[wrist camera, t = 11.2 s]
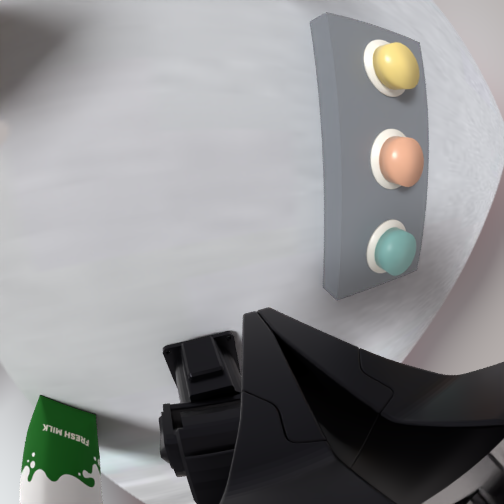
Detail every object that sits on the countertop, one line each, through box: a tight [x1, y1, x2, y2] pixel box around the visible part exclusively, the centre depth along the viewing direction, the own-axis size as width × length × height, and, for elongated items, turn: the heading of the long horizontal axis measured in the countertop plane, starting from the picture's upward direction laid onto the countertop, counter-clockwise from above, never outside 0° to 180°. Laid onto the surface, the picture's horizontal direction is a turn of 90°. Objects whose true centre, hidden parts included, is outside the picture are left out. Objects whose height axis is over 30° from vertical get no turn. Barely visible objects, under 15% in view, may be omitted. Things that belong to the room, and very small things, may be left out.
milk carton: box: [20, 395, 103, 504], centre depth 14 cm, size 9×9×20 cm
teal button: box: [374, 227, 416, 276], centre depth 23 cm, size 4×4×2 cm
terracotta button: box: [379, 136, 424, 187], centre depth 19 cm, size 4×4×2 cm
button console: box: [310, 12, 429, 300], centre depth 22 cm, size 24×11×3 cm, turn 5°
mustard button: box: [373, 42, 420, 90], centre depth 16 cm, size 4×4×2 cm
